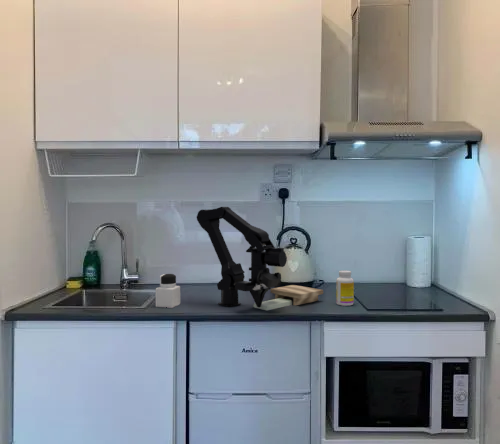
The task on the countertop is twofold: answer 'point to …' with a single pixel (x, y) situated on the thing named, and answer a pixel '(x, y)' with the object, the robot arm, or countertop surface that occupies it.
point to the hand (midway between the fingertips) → (258, 307)
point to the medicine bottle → (167, 292)
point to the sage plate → (274, 304)
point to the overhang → (297, 293)
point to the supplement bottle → (345, 289)
